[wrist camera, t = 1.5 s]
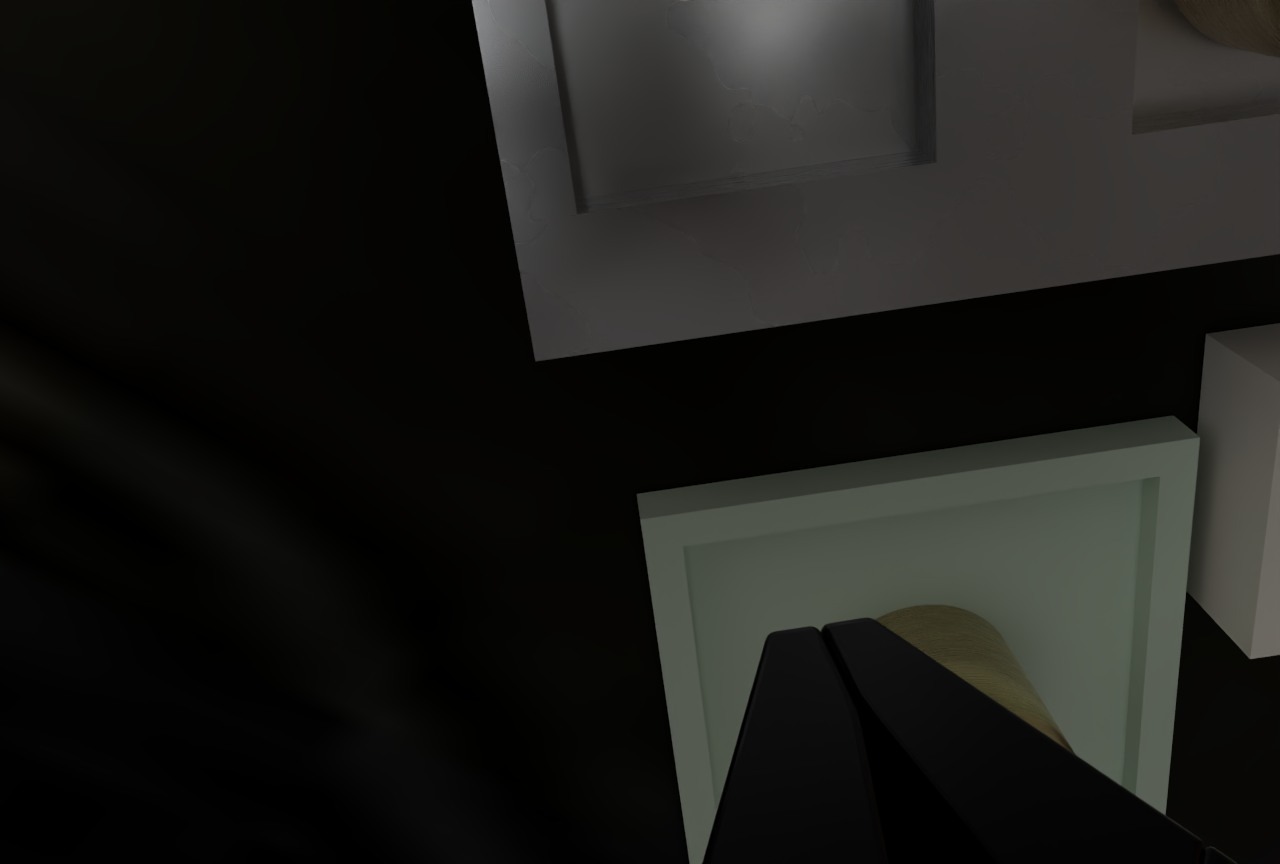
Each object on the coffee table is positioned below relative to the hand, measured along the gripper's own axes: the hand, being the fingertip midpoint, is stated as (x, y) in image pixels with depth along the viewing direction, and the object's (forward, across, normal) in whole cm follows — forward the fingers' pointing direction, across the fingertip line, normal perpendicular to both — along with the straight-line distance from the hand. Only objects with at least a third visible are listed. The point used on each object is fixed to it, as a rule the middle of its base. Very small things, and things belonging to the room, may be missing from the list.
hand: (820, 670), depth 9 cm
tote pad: (+12, -4, +10) cm, 16 cm away
